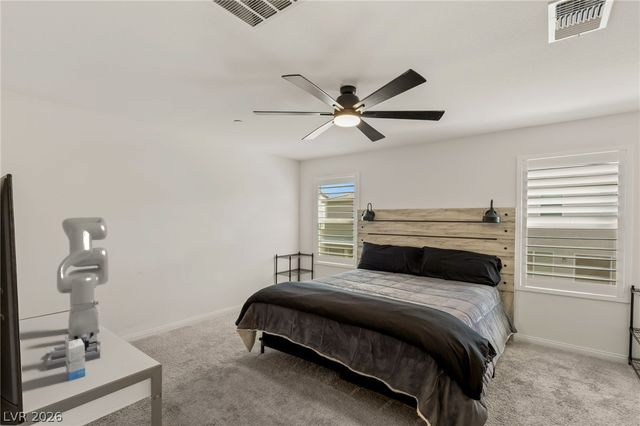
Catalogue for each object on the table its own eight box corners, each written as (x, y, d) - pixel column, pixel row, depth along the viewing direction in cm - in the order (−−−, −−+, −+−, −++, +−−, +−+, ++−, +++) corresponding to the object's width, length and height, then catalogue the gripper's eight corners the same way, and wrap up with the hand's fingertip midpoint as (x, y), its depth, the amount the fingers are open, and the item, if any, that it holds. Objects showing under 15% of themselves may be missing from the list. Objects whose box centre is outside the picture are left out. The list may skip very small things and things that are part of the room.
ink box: (85, 376, 117) (84, 336, 117) (69, 381, 114) (67, 340, 114) (82, 368, 123) (80, 330, 123) (65, 373, 120) (64, 334, 120)
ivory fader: (89, 341, 144) (89, 332, 144) (97, 340, 146) (96, 331, 145) (89, 344, 140) (89, 335, 140) (97, 343, 142) (96, 334, 142)
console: (52, 352, 139) (52, 345, 139) (100, 342, 148) (99, 336, 148) (46, 370, 122) (46, 362, 122) (100, 358, 132) (99, 350, 132)
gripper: (104, 301, 140) (105, 342, 140) (61, 307, 132) (62, 351, 132) (105, 305, 134) (106, 348, 134) (59, 312, 126) (60, 358, 126)
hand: (84, 349), depth 133 cm, fingers closed
